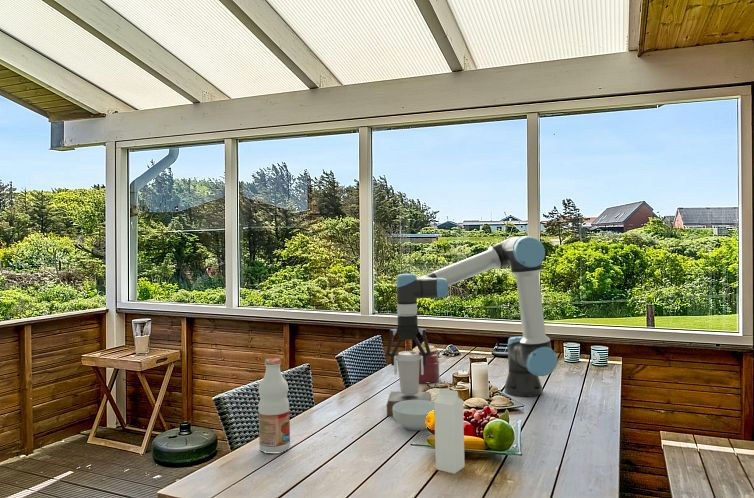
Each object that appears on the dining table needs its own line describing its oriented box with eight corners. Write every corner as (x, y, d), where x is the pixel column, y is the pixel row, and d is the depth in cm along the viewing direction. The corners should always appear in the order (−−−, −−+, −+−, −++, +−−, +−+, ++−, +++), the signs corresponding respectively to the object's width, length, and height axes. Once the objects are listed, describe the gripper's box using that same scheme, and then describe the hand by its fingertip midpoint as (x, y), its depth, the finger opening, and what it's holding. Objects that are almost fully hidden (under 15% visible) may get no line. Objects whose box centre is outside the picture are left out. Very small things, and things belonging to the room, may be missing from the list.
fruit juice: (259, 445, 176) (257, 357, 175) (289, 442, 178) (286, 355, 178) (260, 456, 167) (257, 363, 166) (291, 452, 169) (288, 361, 168)
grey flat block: (431, 404, 215) (430, 391, 215) (430, 416, 201) (430, 401, 201) (390, 404, 216) (389, 391, 216) (387, 415, 202) (386, 401, 202)
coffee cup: (420, 396, 203) (419, 355, 203) (394, 395, 205) (393, 355, 205) (423, 389, 212) (422, 350, 212) (399, 388, 214) (398, 350, 214)
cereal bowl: (408, 438, 178) (408, 417, 178) (384, 424, 193) (383, 404, 193) (451, 429, 186) (451, 408, 186) (425, 416, 201) (424, 396, 201)
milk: (446, 462, 158) (444, 385, 158) (465, 467, 155) (463, 388, 155) (435, 469, 154) (433, 390, 154) (454, 474, 150) (452, 393, 150)
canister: (407, 382, 249) (406, 343, 249) (416, 376, 261) (415, 338, 261) (435, 384, 244) (434, 345, 244) (443, 377, 256) (442, 340, 256)
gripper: (436, 313, 211) (438, 371, 211) (379, 313, 213) (380, 371, 213) (436, 315, 203) (438, 376, 203) (377, 316, 206) (378, 376, 206)
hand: (409, 373), depth 208 cm, fingers closed on coffee cup, 9 cm apart
